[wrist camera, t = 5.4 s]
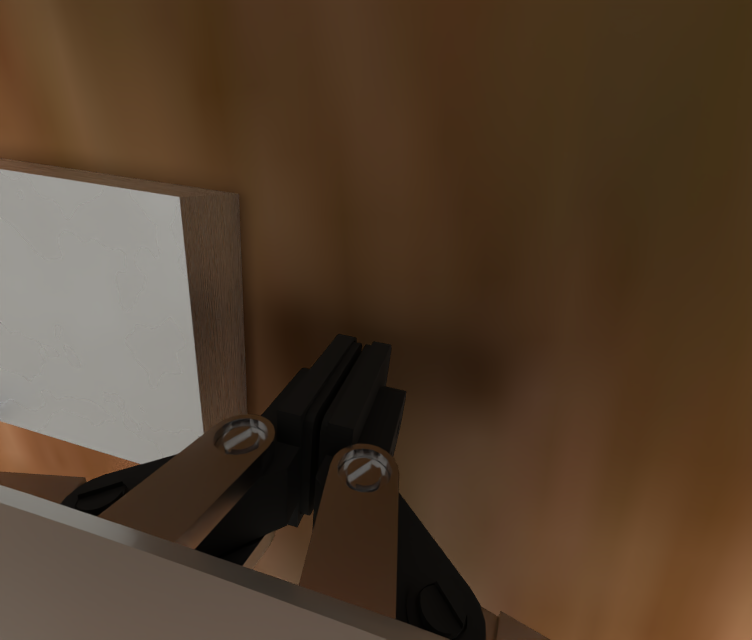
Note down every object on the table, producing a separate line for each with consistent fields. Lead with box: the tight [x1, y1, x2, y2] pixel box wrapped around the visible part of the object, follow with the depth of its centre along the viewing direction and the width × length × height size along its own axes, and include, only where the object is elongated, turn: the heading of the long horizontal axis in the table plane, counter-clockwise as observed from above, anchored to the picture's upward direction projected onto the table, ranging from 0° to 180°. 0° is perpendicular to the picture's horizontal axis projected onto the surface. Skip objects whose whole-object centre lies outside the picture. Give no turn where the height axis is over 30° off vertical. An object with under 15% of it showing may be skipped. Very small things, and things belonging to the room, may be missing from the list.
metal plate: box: [0, 158, 247, 464], centre depth 13 cm, size 10×10×3 cm
